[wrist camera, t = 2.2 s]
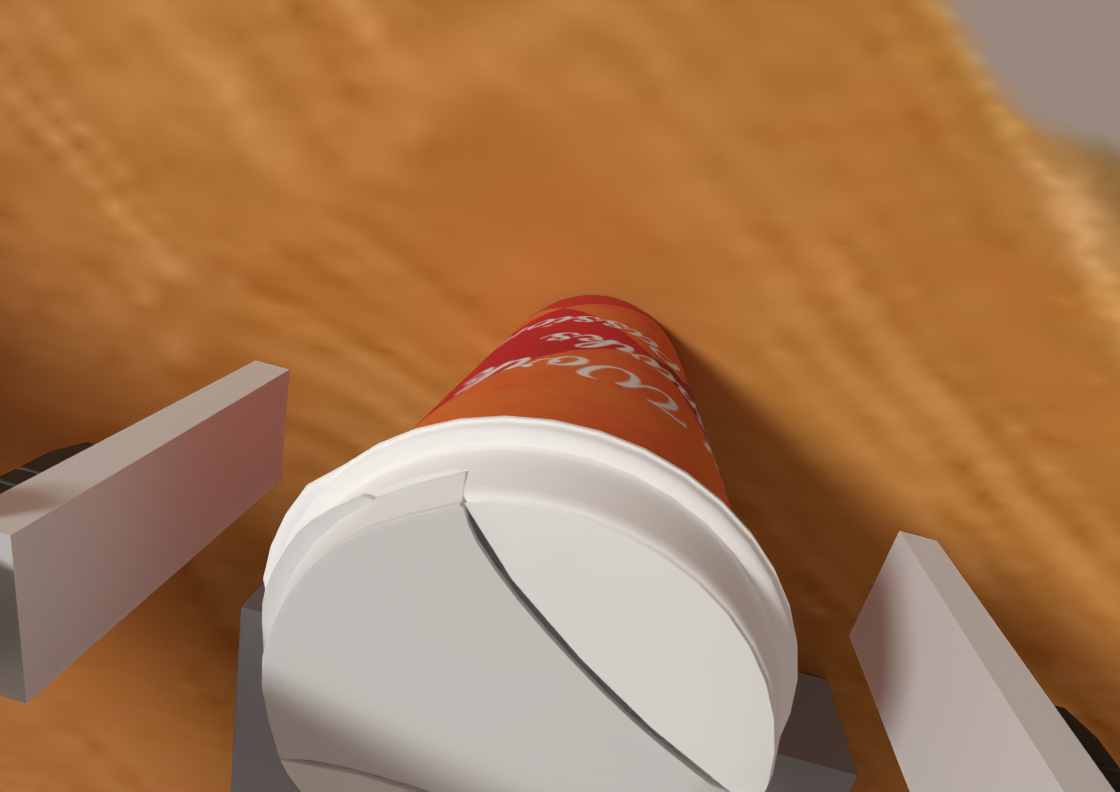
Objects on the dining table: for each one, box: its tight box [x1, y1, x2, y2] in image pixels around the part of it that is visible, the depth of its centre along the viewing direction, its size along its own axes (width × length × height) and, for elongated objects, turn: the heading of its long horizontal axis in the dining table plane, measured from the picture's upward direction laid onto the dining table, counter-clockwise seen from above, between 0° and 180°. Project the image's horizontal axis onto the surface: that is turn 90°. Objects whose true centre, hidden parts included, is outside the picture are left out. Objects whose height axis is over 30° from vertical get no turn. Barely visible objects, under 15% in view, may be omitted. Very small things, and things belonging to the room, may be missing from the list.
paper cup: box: [262, 295, 798, 792], centre depth 15 cm, size 8×8×14 cm
